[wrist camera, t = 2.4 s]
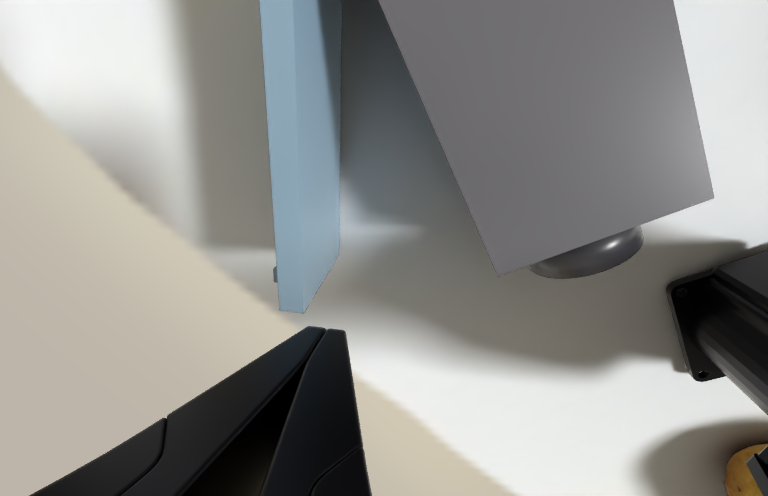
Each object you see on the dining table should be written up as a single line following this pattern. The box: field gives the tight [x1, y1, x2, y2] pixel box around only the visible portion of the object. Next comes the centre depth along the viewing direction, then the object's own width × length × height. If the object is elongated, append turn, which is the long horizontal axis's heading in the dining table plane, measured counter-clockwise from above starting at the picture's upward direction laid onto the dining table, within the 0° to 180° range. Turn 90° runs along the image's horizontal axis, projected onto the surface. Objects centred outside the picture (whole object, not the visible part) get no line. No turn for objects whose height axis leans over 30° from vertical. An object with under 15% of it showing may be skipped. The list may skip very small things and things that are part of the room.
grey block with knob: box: [378, 0, 714, 279], centre depth 13 cm, size 17×7×7 cm, turn 27°
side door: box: [260, 0, 341, 313], centre depth 15 cm, size 15×2×6 cm, turn 177°
